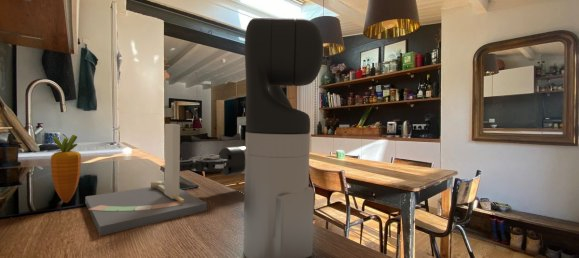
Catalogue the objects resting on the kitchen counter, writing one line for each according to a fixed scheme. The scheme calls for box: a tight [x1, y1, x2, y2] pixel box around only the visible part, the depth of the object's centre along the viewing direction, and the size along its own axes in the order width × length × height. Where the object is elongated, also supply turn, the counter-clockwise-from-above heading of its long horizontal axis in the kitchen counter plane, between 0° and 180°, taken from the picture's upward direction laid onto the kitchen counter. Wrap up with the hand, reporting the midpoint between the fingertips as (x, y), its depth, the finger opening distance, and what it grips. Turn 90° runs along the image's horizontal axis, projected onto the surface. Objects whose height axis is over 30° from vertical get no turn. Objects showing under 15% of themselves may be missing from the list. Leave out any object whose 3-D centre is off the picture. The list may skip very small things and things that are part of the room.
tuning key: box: [150, 123, 184, 203], centre depth 58 cm, size 18×3×16 cm, turn 44°
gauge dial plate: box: [85, 186, 208, 237], centre depth 54 cm, size 21×18×2 cm
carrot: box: [50, 134, 82, 204], centre depth 55 cm, size 5×5×15 cm
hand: (174, 166), depth 58 cm, fingers closed
